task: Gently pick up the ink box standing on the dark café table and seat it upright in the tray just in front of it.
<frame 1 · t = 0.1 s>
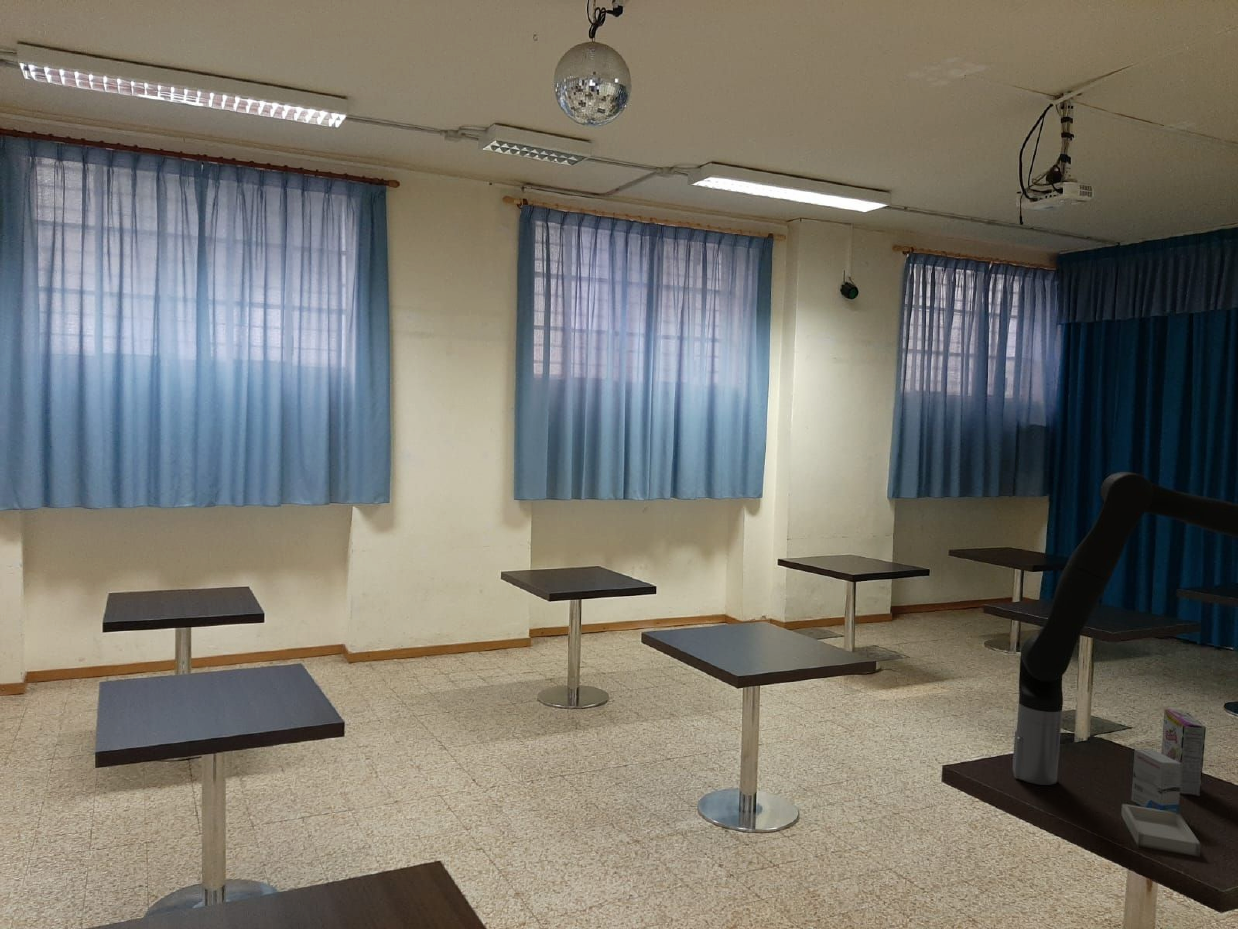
candy bar box: (1178, 786, 206), on the table
tray: (1158, 835, 180), on the table
ink box: (1153, 809, 193), on the table
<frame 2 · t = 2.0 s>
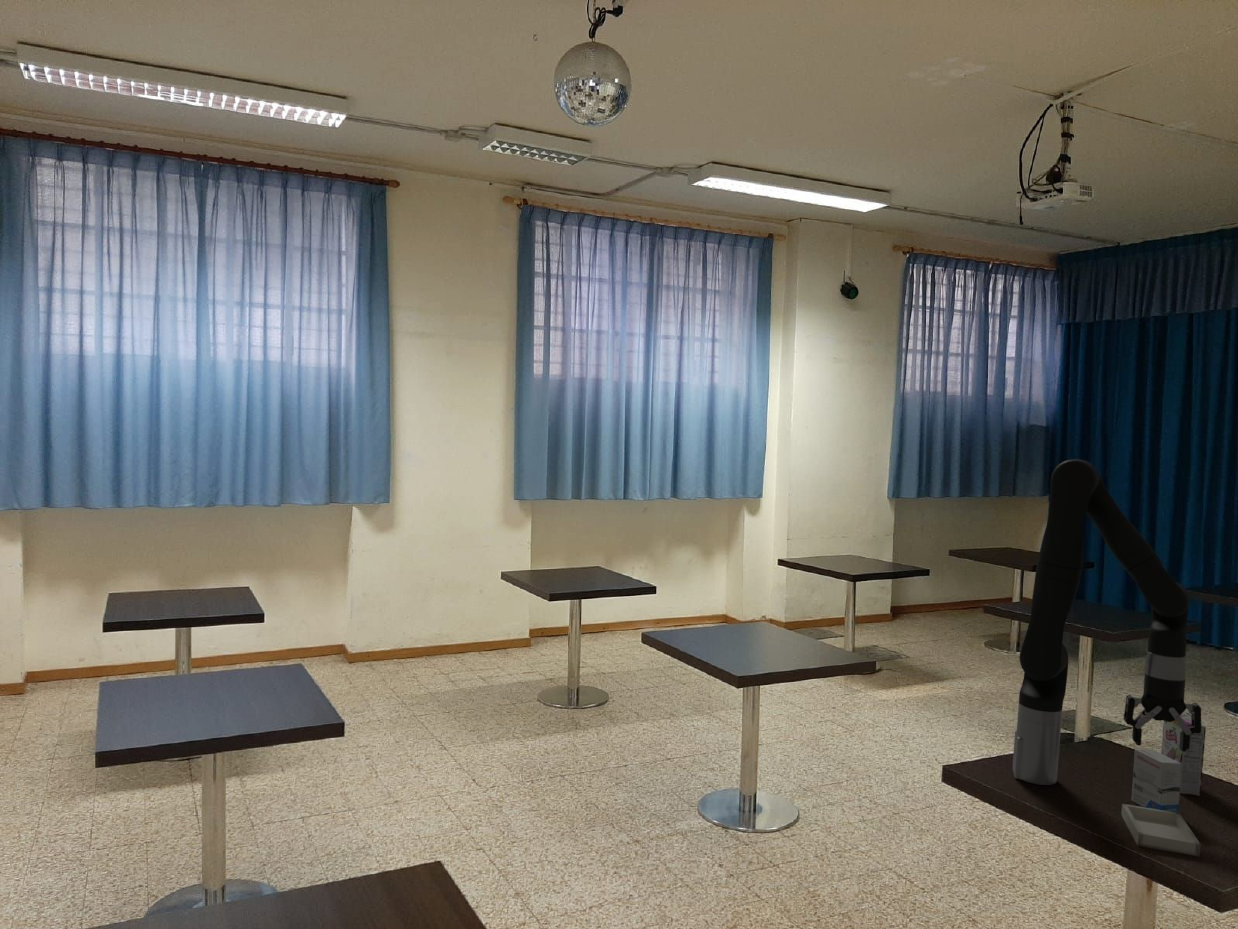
hand: (1160, 747, 192), 14 cm above the table, fingers open, 8 cm apart
nothing on the table moved.
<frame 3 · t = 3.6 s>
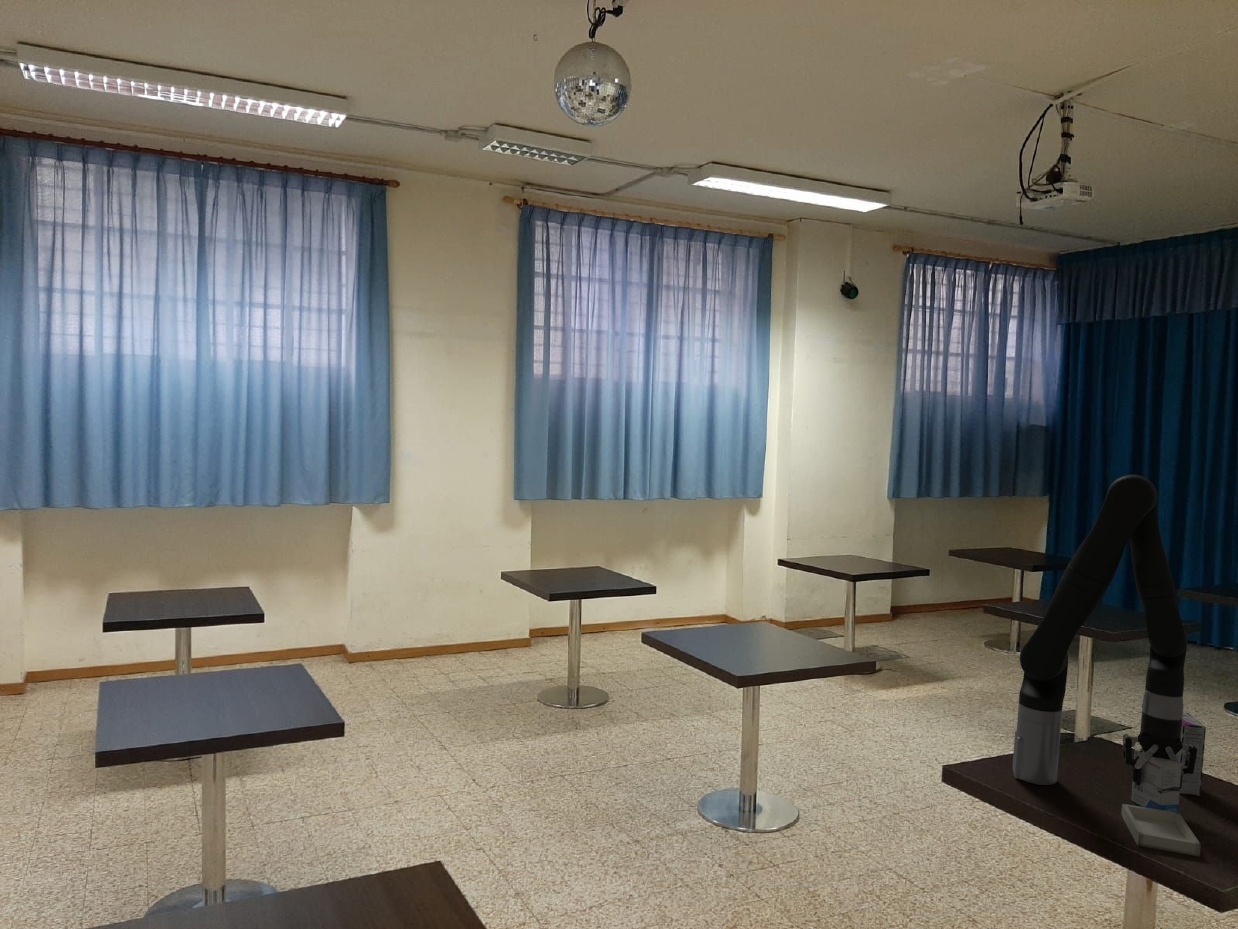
hand: (1155, 787, 192), 5 cm above the table, fingers closed on ink box, 6 cm apart
ink box: (1153, 809, 193), on the table, touching gripper
everything else where it was.
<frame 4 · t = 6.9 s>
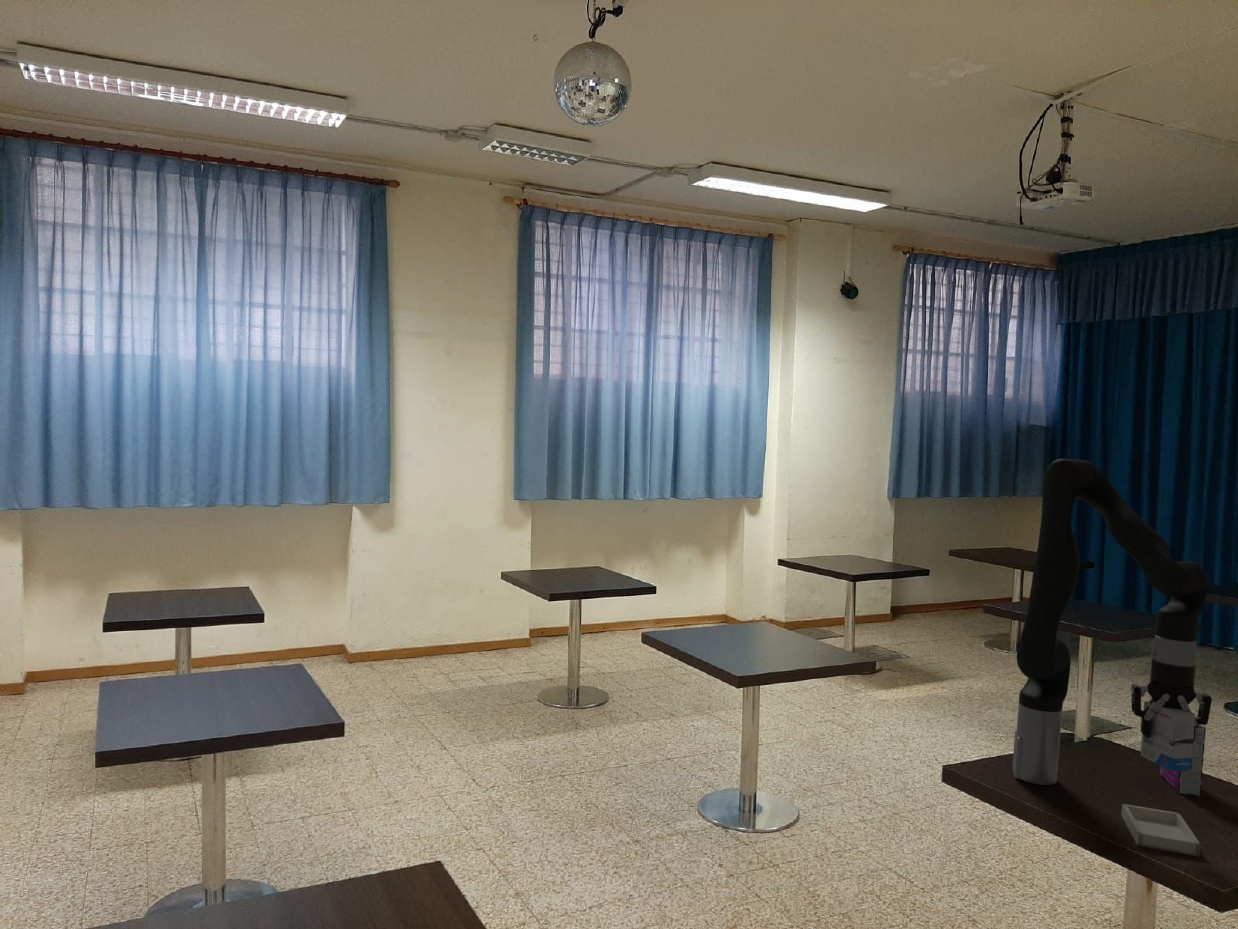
hand: (1167, 740, 179), 20 cm above the table, fingers closed on ink box, 6 cm apart
ink box: (1165, 764, 179), point 15 cm above the table, touching gripper
everything else where it was.
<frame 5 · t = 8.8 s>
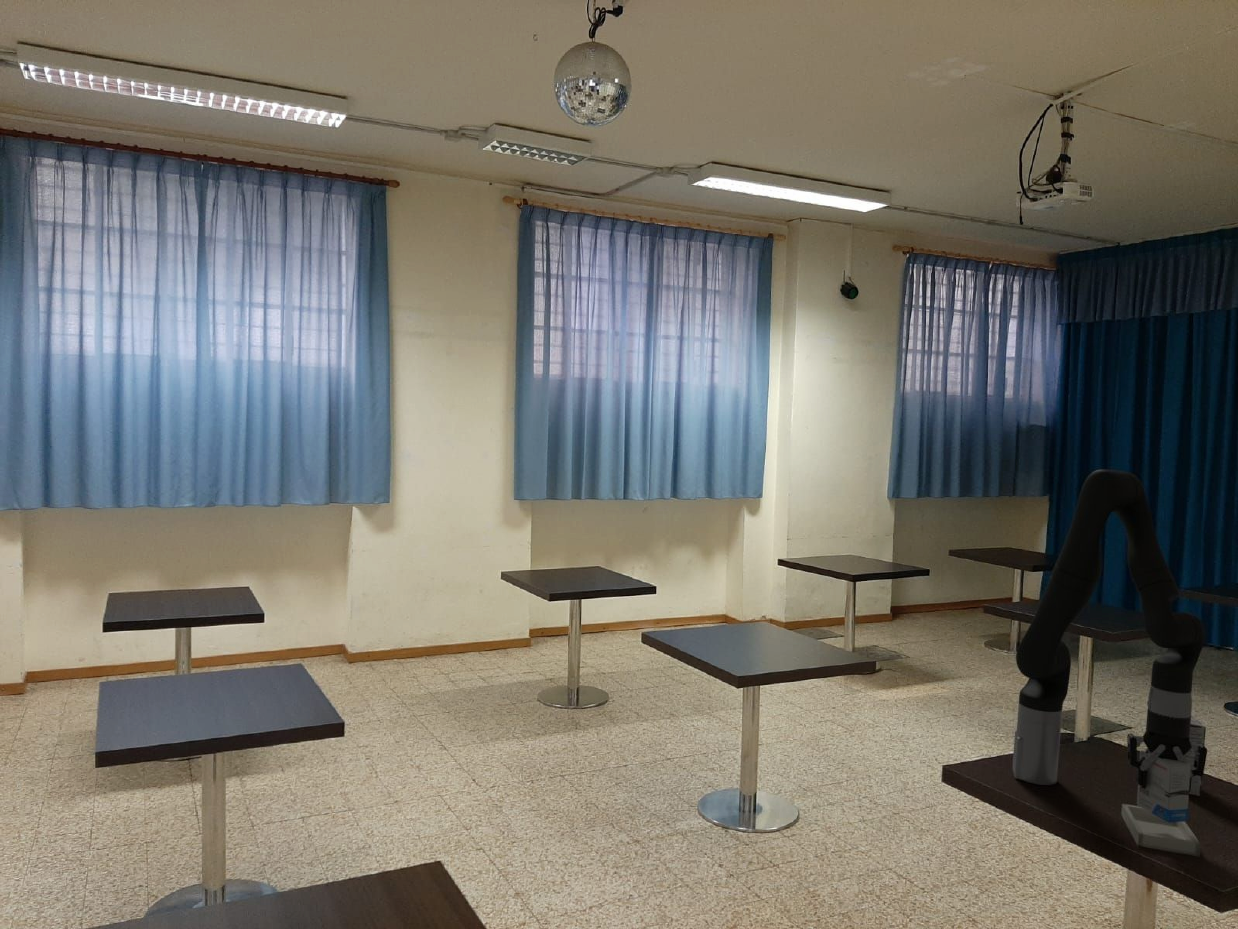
hand: (1162, 790, 179), 9 cm above the table, fingers closed on ink box, 6 cm apart
ink box: (1161, 814, 179), point 4 cm above the table, touching gripper
everything else where it was.
when the fingers open (6 cm above the table, at t = 10.5 s): ink box stays where it is, resting on tray.
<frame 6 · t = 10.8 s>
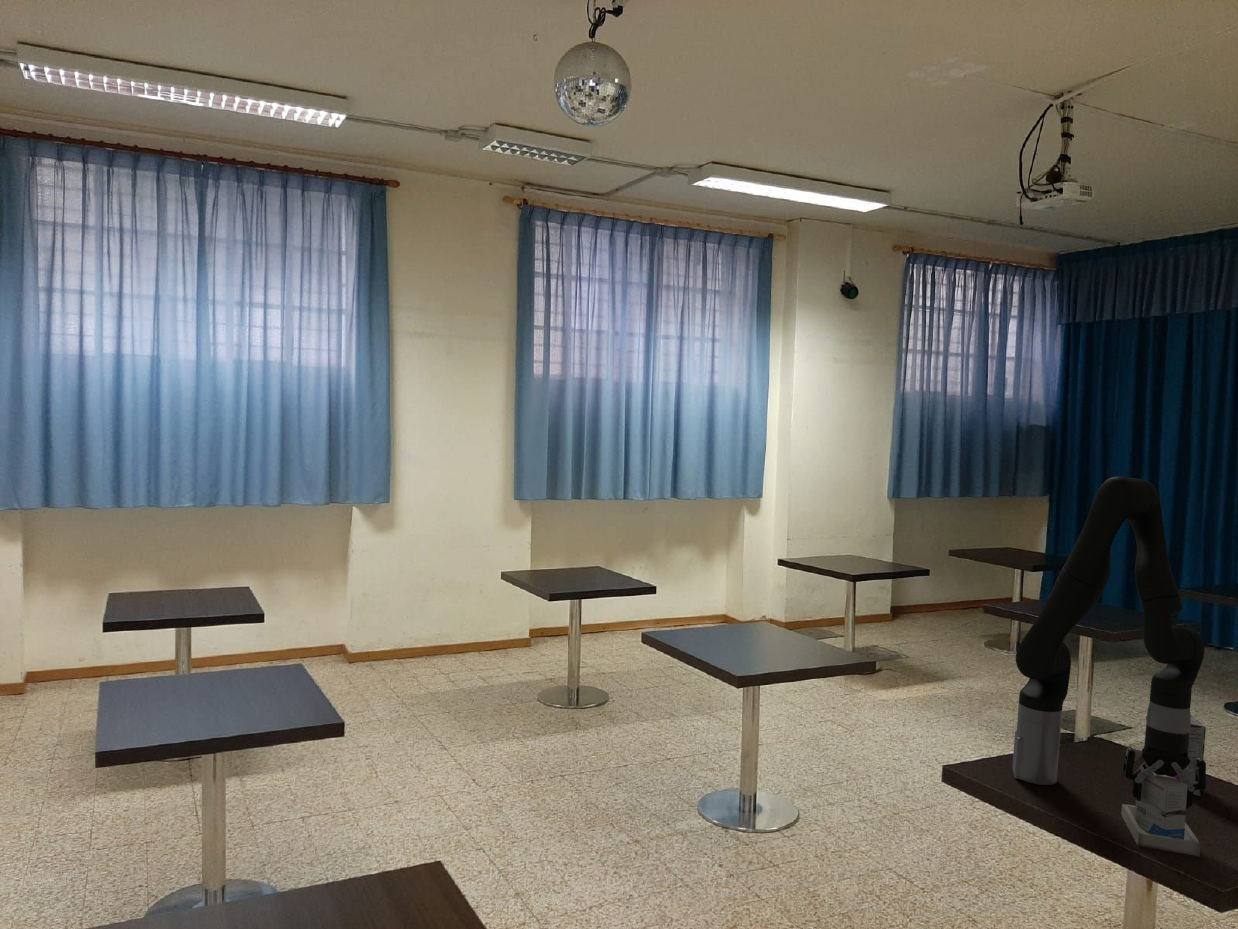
hand: (1161, 803, 179), 7 cm above the table, fingers open, 8 cm apart
ink box: (1158, 833, 180), resting on tray
everything else where it was.
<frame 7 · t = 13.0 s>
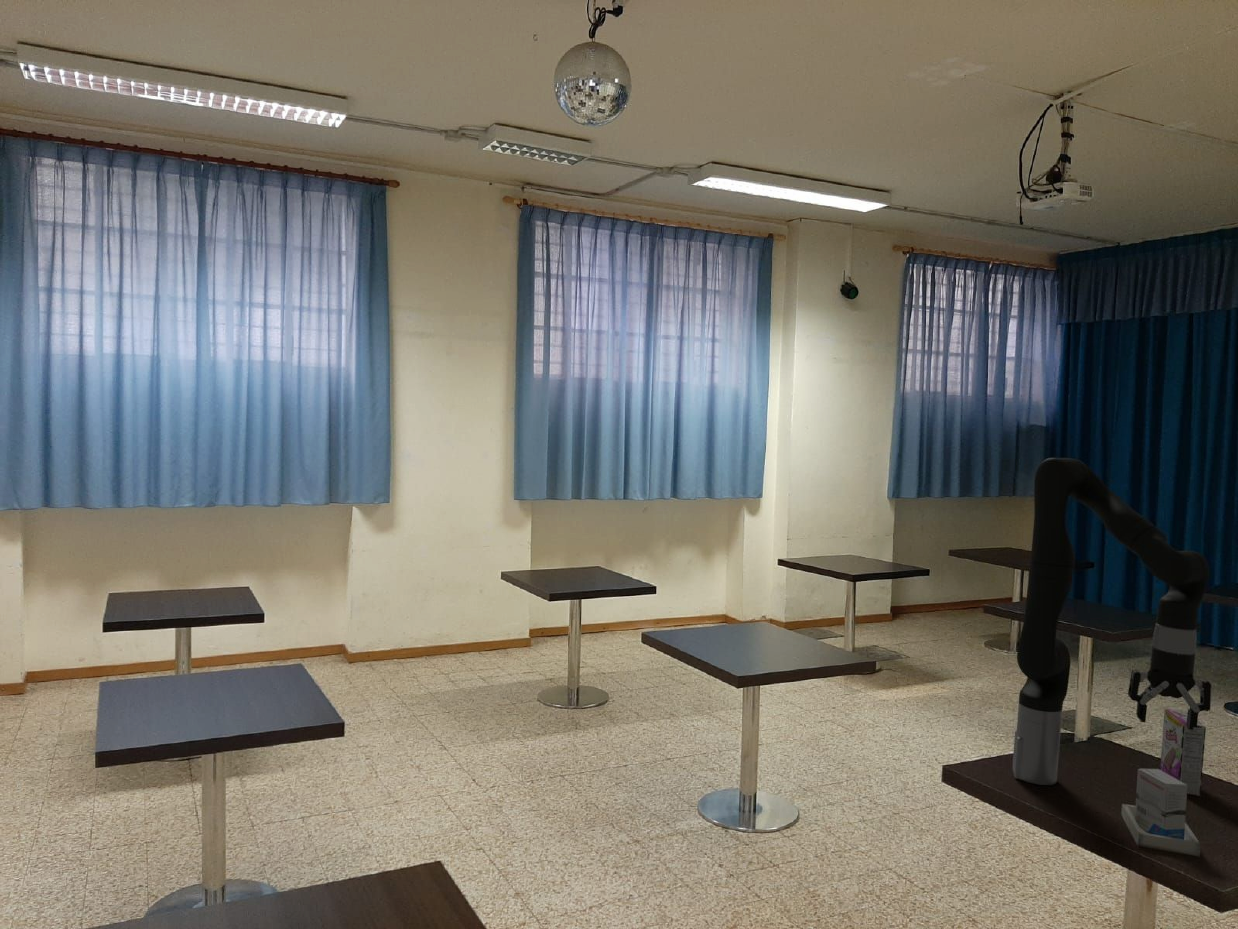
hand: (1165, 725, 181), 22 cm above the table, fingers open, 8 cm apart
nothing on the table moved.
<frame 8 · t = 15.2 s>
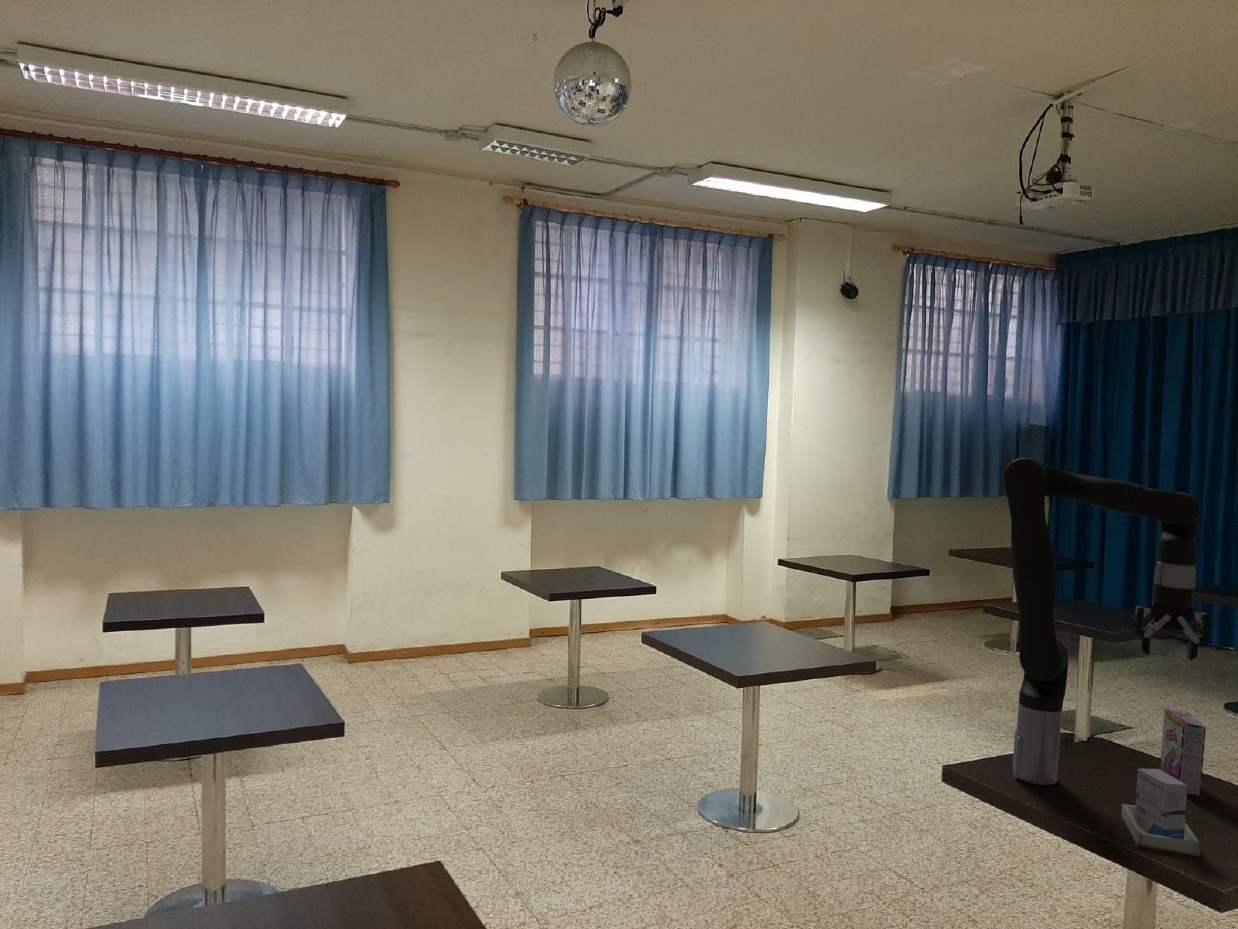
hand: (1168, 656, 193), 33 cm above the table, fingers open, 8 cm apart
nothing on the table moved.
at the end: ink box 0.1 cm off-centre on the tray, point 0.3 cm above the tray's base; ink box tilted 0°; the gripper is holding nothing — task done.
